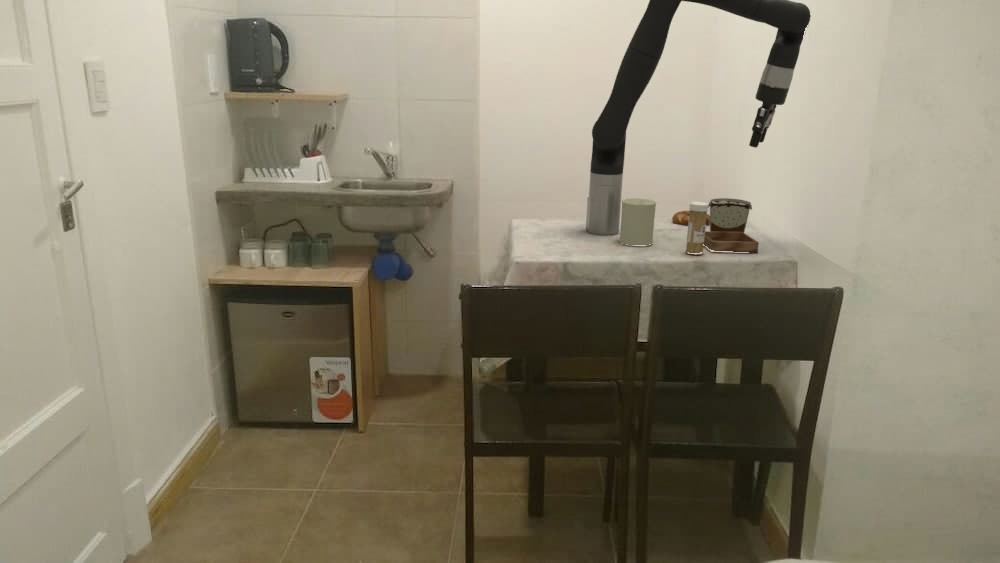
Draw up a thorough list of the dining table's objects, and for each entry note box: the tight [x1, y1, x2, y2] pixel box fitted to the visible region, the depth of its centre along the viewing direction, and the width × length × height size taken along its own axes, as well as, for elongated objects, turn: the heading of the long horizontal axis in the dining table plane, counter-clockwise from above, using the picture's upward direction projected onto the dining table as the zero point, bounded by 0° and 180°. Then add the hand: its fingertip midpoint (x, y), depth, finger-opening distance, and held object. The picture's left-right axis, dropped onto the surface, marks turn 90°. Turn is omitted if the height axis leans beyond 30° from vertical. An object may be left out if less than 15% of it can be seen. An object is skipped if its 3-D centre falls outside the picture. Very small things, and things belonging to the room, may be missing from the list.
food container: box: [708, 197, 753, 233], centre depth 213 cm, size 12×6×10 cm, turn 84°
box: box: [704, 230, 760, 254], centre depth 198 cm, size 12×12×3 cm
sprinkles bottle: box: [685, 201, 709, 253], centre depth 189 cm, size 5×5×13 cm
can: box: [618, 198, 657, 245], centre depth 199 cm, size 9×9×12 cm
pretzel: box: [671, 210, 710, 227], centre depth 227 cm, size 12×11×4 cm
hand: (756, 144), depth 197 cm, fingers open, 8 cm apart
